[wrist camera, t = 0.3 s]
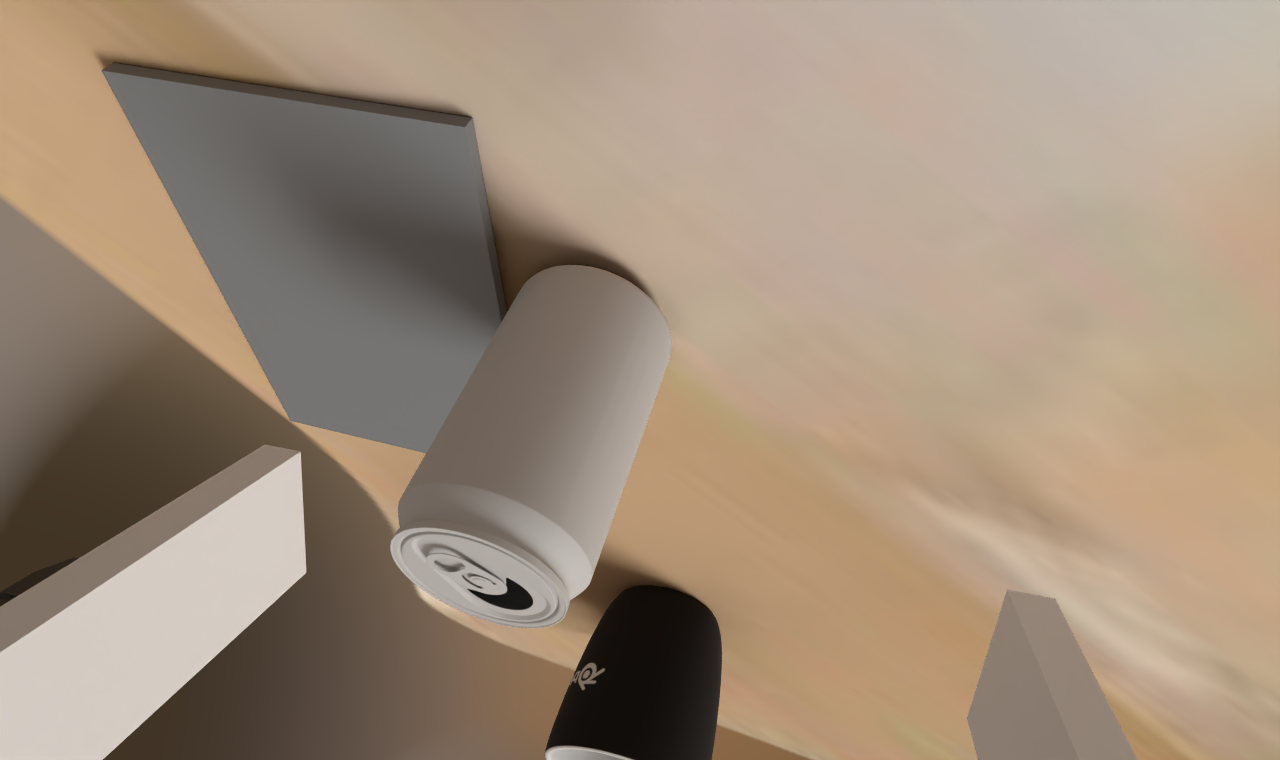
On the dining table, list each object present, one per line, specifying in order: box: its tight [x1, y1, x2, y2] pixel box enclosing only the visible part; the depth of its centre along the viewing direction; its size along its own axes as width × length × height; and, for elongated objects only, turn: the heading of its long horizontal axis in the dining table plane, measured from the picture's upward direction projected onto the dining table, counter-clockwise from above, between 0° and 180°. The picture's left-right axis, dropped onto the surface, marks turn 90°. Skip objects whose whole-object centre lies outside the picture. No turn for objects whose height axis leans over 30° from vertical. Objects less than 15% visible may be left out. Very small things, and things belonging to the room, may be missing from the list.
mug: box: [545, 586, 722, 760], centre depth 47 cm, size 12×9×10 cm
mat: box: [102, 63, 507, 453], centre depth 34 cm, size 20×14×1 cm
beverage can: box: [390, 265, 672, 628], centre depth 27 cm, size 6×6×12 cm
